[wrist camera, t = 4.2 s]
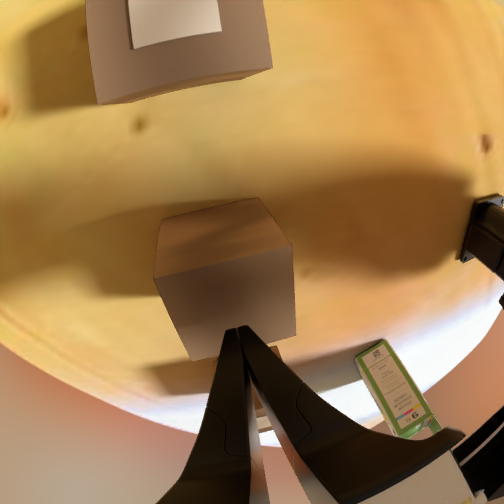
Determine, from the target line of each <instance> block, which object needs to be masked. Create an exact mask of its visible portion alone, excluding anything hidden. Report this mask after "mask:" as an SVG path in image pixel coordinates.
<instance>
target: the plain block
mask: <svg viewBox="0 0 504 504" xmlns="http://www.w3.org/2000/svg"><path fill="white" fill-rule="evenodd" d="M153 279H154V282H155V284H156V287H157V289H158V291H159V293H160V296H161V298H162V300H163V303H164V305H165V307H166V309H167V311H168V314H169V316H170V318H171V320H172V322H173V324H174V326H175V328H176V330H177V332H178V335H179V337H180V339H181V341H182V343H183V345H184V347H185V349H186V351H187V352H188V354H189V356H190V358H191V360H192V361H197V360H202V359H206V358H211V357H215V356H219V353H220V349H221V345H222V341H223V337H224V333H225V331H226V330H227V329H231V328H236V329H237V327H239V326H243V325H248V326H249V327H250V328H251V329H252V330H253V331H254V332H255V333H256V334H257V335H258V336H259V337H260V338H261V339H262V340H263V341H264V342H265V343H266V344H268V343H271V342H275V341H279V340H282V339H286V338H289V337H292V336H296V318H295V293H294V273H293V255H292V245H291V243H290V242H289V240H288V239H287V238H286V236H285V235H284V233H283V232H282V230H281V229H280V228H279V226H278V225H277V223H276V222H275V220H274V219H273V218H272V216H271V215H270V213H269V212H268V211H267V209H266V208H265V206H264V205H263V204H262V202H261V201H260V199H259V198H253V199H248V200H243V201H239V202H234V203H230V204H225V205H221V206H216V207H212V208H208V209H203V210H199V211H195V212H191V213H187V214H183V215H179V216H175V217H171V218H167V219H163V220H161V224H160V231H159V237H158V244H157V251H156V259H155V267H154V275H153ZM237 332H238V331H237ZM238 336H239V335H238ZM241 347H242V346H241Z"/></svg>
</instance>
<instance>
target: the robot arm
mask: <svg viewBox="0 0 504 504" xmlns="http://www.w3.org/2000/svg"><path fill="white" fill-rule="evenodd" d="M503 203H504V196H502V195H498V196H494V197H490V198H486V199H483V200H479V201H476V202H475V203H474V206H473V210H472V215H471V219H470V223H469V228H468V232H467V235H466V239H465V243H464V246H463V250H462V253H461V257H460V261H461V262H462V263H465V262H467V261H469V260H471V259H473V258H476V259H478V260H479V261H480V262H481V263H482V264H484V265H485V266H486V267H487V268H488V269H489V270H491V271H492V272H493V273H495V274H496V275H497V276H498V277H500V278H501V279H502V280H503V281H504V209H503V208H502V207H503ZM499 303H500V304H501V306H502V307H503V309H504V294H503V295H502V296H501V298H500V299H499ZM237 331H238V332H237ZM238 335H239V336H238ZM241 346H242V347H241ZM244 357H245V358H244ZM246 364H247V365H246ZM248 371H249V372H248ZM249 375H250V376H249ZM250 378H251V380H250ZM251 381H252V384H253V386H254V388H255V390H256V393H257V395H258V397H259V399H260V402H261V404H262V406H263V408H264V410H265V413H266V415H267V417H268V419H269V421H270V423H271V425H272V427H273V430H274V432H275V434H276V436H277V438H278V440H279V442H280V444H281V446H282V448H283V450H284V452H285V454H286V456H287V458H288V460H289V462H290V464H291V466H292V468H293V470H294V472H295V474H296V476H297V478H298V480H299V482H300V483H301V486H302V487H303V489H304V491H305V493H306V495H307V497H308V499H309V500H310V502H311V504H485V503H486V502H488V501H491V500H494V499H497V498H500V497H503V496H504V405H503V406H502V407H501V408H500V409H499V410H497V411H496V412H495V413H494V414H493V415H492V416H491V417H490V418H489V419H488V420H487V421H486V422H485V423H483V424H482V425H481V426H480V427H479V428H478V429H477V430H476V431H475V432H474V433H472V434H471V435H470V436H469V437H468V438H467V439H465V440H464V441H463V442H462V443H460V444H459V445H458V446H457V447H456V448H454V449H453V450H452V451H451V448H452V447H453V446H455V445H456V444H457V443H458V442H459V441H461V440H462V439H463V438H464V437H465V436H466V434H465V433H464V432H463V431H461V430H459V429H456V428H454V427H452V426H449V425H448V426H446V427H444V428H443V429H441V430H440V431H438V432H437V433H435V434H434V435H433V436H431V437H429V438H427V439H424V440H411V439H406V438H401V437H397V436H392V435H388V434H384V433H380V432H376V431H373V430H370V429H367V428H365V427H363V426H361V425H360V424H358V423H356V422H355V421H353V420H352V419H350V418H349V417H347V416H346V415H344V414H343V413H341V412H340V411H338V410H337V409H336V408H334V407H333V406H331V405H330V404H329V403H327V402H326V401H325V400H323V399H322V398H321V397H320V396H318V395H317V394H316V393H315V392H314V391H313V390H312V389H311V388H310V387H309V386H308V385H306V384H305V383H304V382H303V381H302V380H301V379H300V378H299V377H298V376H297V375H296V374H295V373H294V372H293V371H292V370H291V369H290V368H289V367H288V366H287V365H286V364H285V363H284V362H283V361H282V360H281V359H280V358H279V357H278V356H277V355H276V354H275V353H274V352H273V351H272V350H271V349H270V348H269V347H268V346H267V345H266V343H265V342H264V341H263V340H262V339H261V338H260V337H259V336H258V335H257V334H256V333H255V332H254V331H253V330H252V329H251V328H250V327H249V326H248V325H243V326H239V327H237V329H236V328H231V329H227V330H226V331H225V333H224V337H223V341H222V345H221V349H220V353H219V357H218V361H217V365H216V369H215V373H214V377H213V381H212V385H211V389H210V393H209V397H208V401H207V405H206V406H207V407H206V409H205V413H204V417H203V420H202V424H201V427H200V430H199V433H198V436H197V439H196V442H195V444H194V446H193V449H192V451H191V454H190V456H189V458H188V461H187V463H186V466H185V468H184V470H183V472H182V474H181V476H180V477H179V479H178V480H177V482H176V483H175V484H174V485H173V486H172V487H171V488H170V489H169V490H168V491H167V493H166V494H165V495H164V496H163V497H162V498H161V499H160V500H159V501H158V502H157V503H156V504H270V501H269V495H268V489H267V483H266V478H265V471H264V465H263V458H262V452H261V445H260V439H259V432H258V426H257V419H256V412H255V406H254V399H253V392H252V385H251Z"/></svg>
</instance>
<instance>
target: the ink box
mask: <svg viewBox="0 0 504 504" xmlns="http://www.w3.org/2000/svg"><path fill="white" fill-rule="evenodd" d="M355 362H356V364H357V367H358V369H359V372H360V375H361V377H362V379H363V381H364V383H365V385H366V386H367V388H368V390H369V392H370V394H371V395H372V397H373V399H374V401H375V402H376V404H377V406H378V408H379V410H380V411H381V413H382V415H383V417H384V419H385V421H386V422H387V424H388V426H389V428H390V430H391V432H392V433H393V435H394V436H397V437H401V438H406V439H408V438H410V437H412V436H413V435H414V434H416V433H418V432H419V431H421V430H422V429H424V428H425V427H427V426H428V427H429V428H430V429H431V431H432V433H433V434H435V433H436V432H437V431H438V430H441V429H443V428H442V426H441V425H440V423H439V421H438V420H437V418H436V416H435V414H434V412H433V410H432V408H431V407H430V405H429V404H428V403H427V401H426V400H425V398H424V396H423V395H422V393H421V391H420V390H419V388H418V387H417V385H416V383H415V382H414V380H413V379H412V377H411V375H410V374H409V372H408V371H407V369H406V368H405V366H404V365H403V363H402V362H401V360H400V359H399V357H398V356H397V354H396V353H395V351H394V350H393V348H392V347H391V345H390V344H389V342H388V341H387V340H386V339H384V340H383V341H381V342H379V343H378V344H377V345H375V346H374V347H372V348H370V349H368V350H366V351H364V352H363V353H361V354H360V355H358V356H357V357H355Z"/></svg>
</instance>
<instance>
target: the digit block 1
mask: <svg viewBox="0 0 504 504" xmlns="http://www.w3.org/2000/svg"><path fill="white" fill-rule="evenodd" d="M85 2H86V21H87V34H88V44H89V52H90V60H91V67H92V74H93V80H94V86H95V92H96V97H97V103H98V105H103V104H117V103H132V102H135V101H139V100H142V99H146V98H149V97H153V96H157V95H161V94H165V93H169V92H173V91H177V90H182V89H187V88H191V87H197V86H202V85H207V84H213V83H220V82H226V81H233V80H241V79H244V78H246V77H249V76H251V75H254V74H257V73H260V72H263V71H265V70H268V69H271V68H273V65H272V57H271V50H270V44H269V37H268V30H267V24H266V18H265V12H264V6H263V0H85Z"/></svg>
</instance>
